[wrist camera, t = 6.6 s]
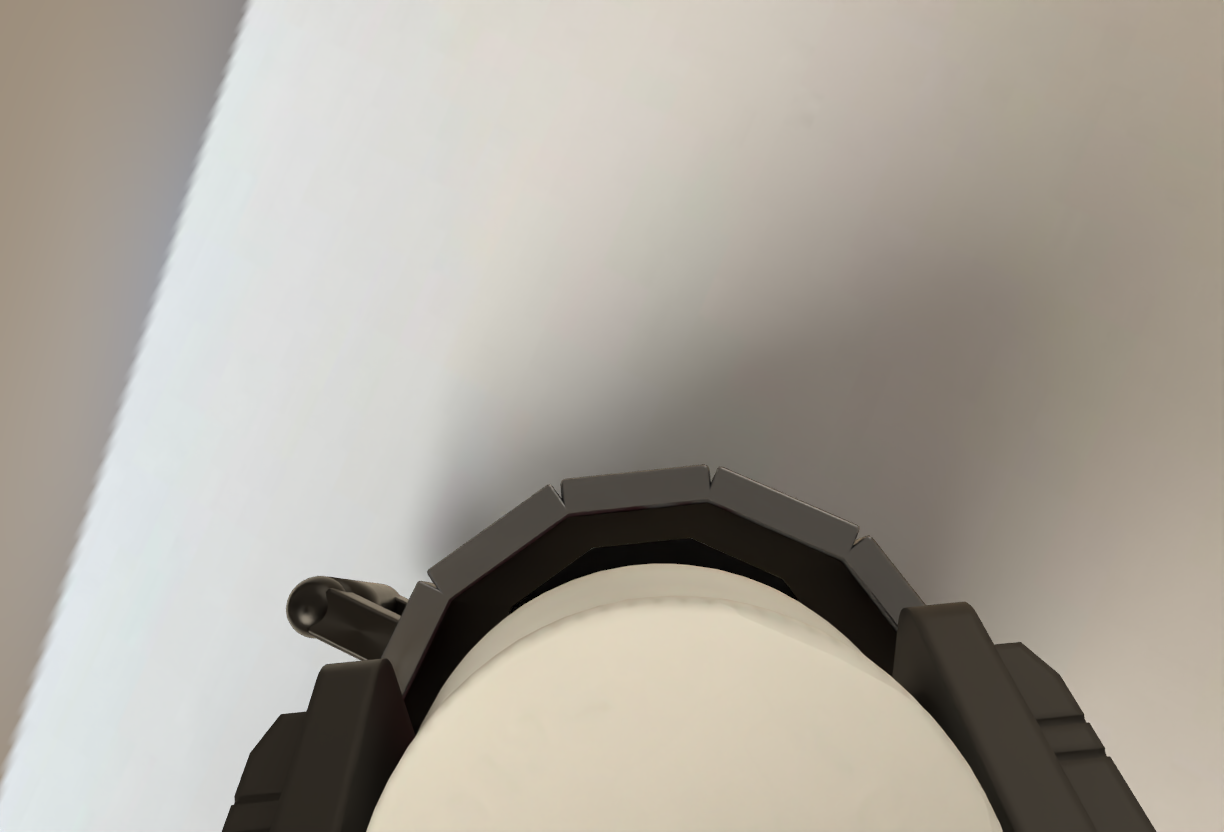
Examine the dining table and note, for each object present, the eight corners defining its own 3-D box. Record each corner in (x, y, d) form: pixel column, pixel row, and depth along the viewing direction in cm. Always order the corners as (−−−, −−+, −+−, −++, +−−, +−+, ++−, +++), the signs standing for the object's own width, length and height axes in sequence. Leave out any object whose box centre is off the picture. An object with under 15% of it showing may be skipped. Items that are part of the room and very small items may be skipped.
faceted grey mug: (277, 806, 18) (101, 894, 12) (473, 412, 20) (400, 326, 14) (785, 1073, 17) (859, 1314, 11) (949, 622, 19) (1087, 623, 13)
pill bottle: (474, 891, 17) (161, 1394, 6) (527, 569, 18) (350, 483, 7) (797, 943, 16) (1110, 1592, 5) (825, 611, 18) (1120, 589, 7)
